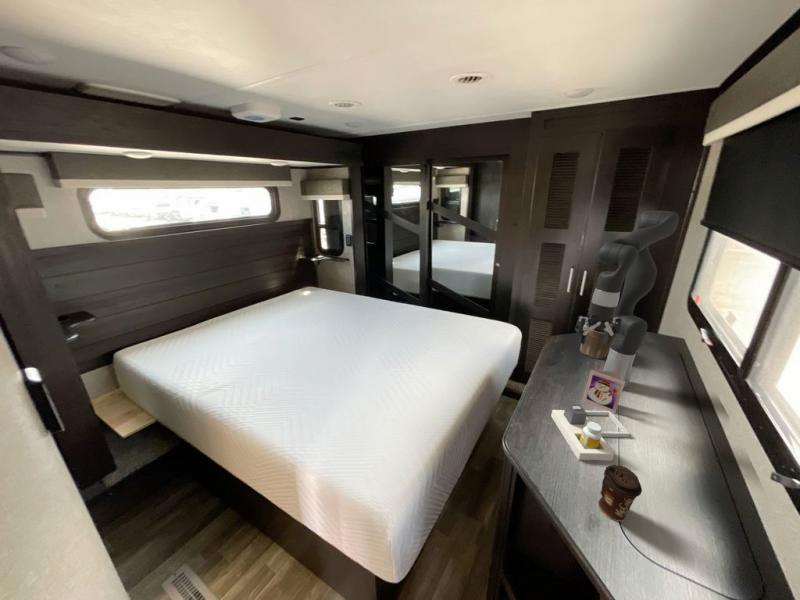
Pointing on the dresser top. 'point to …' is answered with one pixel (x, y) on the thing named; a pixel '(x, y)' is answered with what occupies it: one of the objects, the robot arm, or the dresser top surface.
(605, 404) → the greeting card
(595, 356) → the plant pot
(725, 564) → the dresser top surface
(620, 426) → the tray
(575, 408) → the white holder base
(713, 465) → the dresser top surface
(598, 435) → the supplement bottle
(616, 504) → the coffee cup
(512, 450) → the dresser top surface
